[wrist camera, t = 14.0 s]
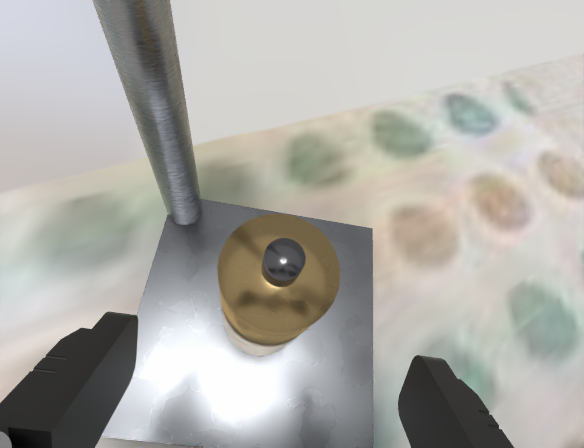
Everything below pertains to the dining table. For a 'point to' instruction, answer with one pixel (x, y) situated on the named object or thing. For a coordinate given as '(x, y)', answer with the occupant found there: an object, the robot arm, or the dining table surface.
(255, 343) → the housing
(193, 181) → the stand
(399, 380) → the dining table surface
